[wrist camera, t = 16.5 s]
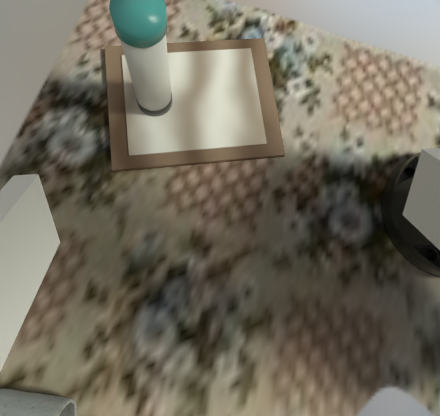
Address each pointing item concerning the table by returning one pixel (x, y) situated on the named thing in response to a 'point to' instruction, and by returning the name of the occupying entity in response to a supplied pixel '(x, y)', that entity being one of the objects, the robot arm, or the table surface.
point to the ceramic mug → (35, 404)
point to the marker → (145, 51)
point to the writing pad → (197, 108)
